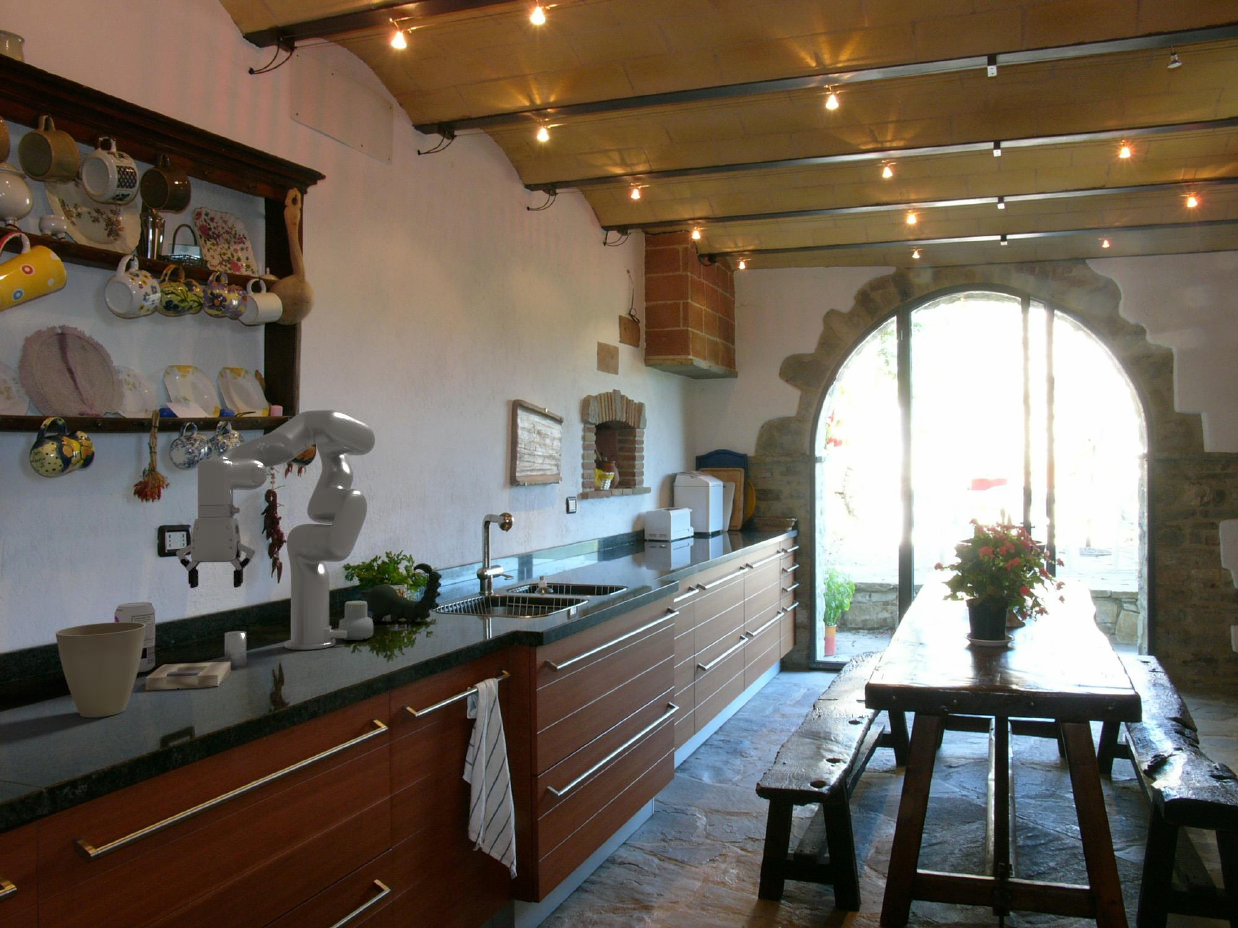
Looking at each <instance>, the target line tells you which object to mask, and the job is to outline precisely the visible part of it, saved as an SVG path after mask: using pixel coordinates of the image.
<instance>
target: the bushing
mask: <svg viewBox="0 0 1238 928" xmlns="http://www.w3.org/2000/svg"><path fill="white" fill-rule="evenodd" d="M224 662H231V669H234V670H239V669H238V668H242V669H245V668H247V631H242V630H236V631H235V630H234V631H227V632H224ZM244 667H245V668H244Z"/></svg>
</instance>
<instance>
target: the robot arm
mask: <svg viewBox="0 0 1238 928" xmlns="http://www.w3.org/2000/svg"><path fill="white" fill-rule="evenodd" d="M375 436H376V435H375V433H374V430H373V429H372V428H371V427H370V426H369V425H368V424H367V423H365V422H363V421H361V420H358V419H356V418H354V417H352V416H349V415H347V414H344V413H342V412H340V411H337V410H332V409H330V410H329V409H327V410H326V409H325V410H323V409H322V410H305V411H303V412H300V413H298V414H296V415H295V416H294V417H292V418H290V419H288V421H286V422H284V423H283V424H282V425H280V426H279V427H276V429H274V430H272V431H271V432H269V433H267V434H264V435H261V436H258V437H256V438H254V439H251V440H249V441H246V442H243V443H241V444H239V445H236V446H234V447H231V448H230V449H228V450H226V451H225V452H223V453H222V454H220V455H219V456H217V457H216V458H210V459H209V458H207V459H202V460H200V461H199V462H198V464H197V518H195V519H194V522H193V526H192V533H191V540H190V541H191V543H190V544H189V545H187V546H185V547H182V548H180V549H178V550H177V551H176V553H175V554H176V556H177V558H178V560H179V563H180V564H181V565H182V566H183V567H184V568H185V569H186V571H188V572H187V580H188V583H187V584H188V585H189V588H190V589H195V588H198V587H199V569H197V567H198V566H199V565H200V564H201V563H230V564H231V565H232V566H233V567H234V568H235V569H234V570H233V588H240V587H241V586H242V584H243V583H244V569H245V568H246V567H247V566H248V565H249V563H251V561H252V559H253V557H254V556H255V553H256V550H255V549H253V548H251V547H249V546H247V545H245V544H243V543H242V541H241V540H242V539H241V531H240V526H239V521H238V518H235V515H236V514H240V511H241V510H240V507H236V506H235V504H234V491H252V490H256V489H259V488H261V487H262V486H263V485H264V484H265V483H266V482H267V479H268V470H267V468H269V467H270V468H271V467H276V466H280V465H283V464H287V463H290V462H291V461H292V460H294V459H295V458H297V457H298V456H299V455H301V454H302V453H304V452H305V451H307V450H308V449H309V448H311V447H312V446H313V445H315V446H316V449H317V452H318V455H319V458H320V460H321V473H320V474H319V475H320V476H319V478H318V480H317V483H316V486H315V488H314V490H313V492H312V494H311V496H310V499H309V502H308V505H307V508H306V510H307V511H306V513H307V517H308V518H309V519H310V520H311V521H312V522H314V523H304V524H300V525H296V526H295V527H293V528H292V529H291V530H290V531H289V533H288V535H287V538H286V550H287V551H286V552H287V557H288V560H289V567H290V639H289V640H287V641H285V642H284V648H285V649H289V650H297V651H305V650H308V651H309V650H318V649H319V650H321V649H325V648H327V649H328V648H329V647H333V646H335V645H336V639H342V638H347V630H345V631H343V630H339V629H338V630H335V629H332V625H330V574H329V571H328V568H327V565H326V563H325V562H329V563H331V562H333V563H336V562H337V563H338V562H339V563H340V562H342V561H345V560H346V559H347V558H349V556H350V555H351V553H352V551H353V550H354V547H355V545H356V543H357V540H358V538H359V535H360V533H361V530H362V529H363V528H362V527H363V525H364V522H365V520H366V517H367V513H368V504H367V498H366V496H365V494H364V493H363V492H362V491H360V490H358V489H355V488H352V485H353V481H354V472H353V468H352V467H351V464H350V462H349V459H348V458H347V457H348V456H364V455H367V454H369V453H370V452H371V451H372V450H373V448H374V447H375V443H376V438H375ZM189 552H190V558H191V560H189V559H188V558H187V556H186V554H188V553H189ZM242 553H245V557H244V559H242V560H241V557H242Z"/></svg>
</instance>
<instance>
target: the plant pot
mask: <svg viewBox="0 0 1238 928" xmlns="http://www.w3.org/2000/svg"><path fill="white" fill-rule="evenodd" d="M145 629H146V624H144V623H137V622H115V621H113V622H100V623H89V624H83V625H76V626H71V627H66V628H62V629H60V630H59V629H58V630H57V631H55V639H56V643H57V648H58V649H57V650H58V655H59V658H60V663H61V667H62V669H63V670H62V671H63V674H64V677H65V680H66V683H67V686H68V687H67V688H68V689H69V692H70V694H71V697H72V700H73V703H74V704H75V707H76V708H77V712H78V713H79V715H80V716H81V717H83V718H102V717H110V716H115V715H117V714H121V713H122V712H125V710H126V708H127V705H128V704H129V700H130V698H131V694H132V693H133V688H134V685H135V682H136V679H137V676H138V675H137V674H138V673H137V672H138V668H139V664H140V660H141V655H142V650H143V644H144V637H145Z"/></svg>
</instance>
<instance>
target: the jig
mask: <svg viewBox="0 0 1238 928" xmlns="http://www.w3.org/2000/svg"><path fill="white" fill-rule="evenodd" d="M229 673H230V674H231V673H232V670H231V662H225V661H214V662H212V661H211V662H192V663H171V664H170V663H169V664H168V663H167V664H163V665H161V666H160V667H158V668H157V669H155V670H154V671H153V672H151V673H150V674H149V675H148V676H146V677H145V690H146V691H154V690H176V689H177V688H179V689H193V688H194V689H196V688H214V687H213V686H218V687H219V686H220V685H221V684H222V683H221V682H222V681H223V682H224V680H226V678H227V677H228V676H229V675H230V674H229ZM220 683H221V684H220ZM219 684H220V685H219Z"/></svg>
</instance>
